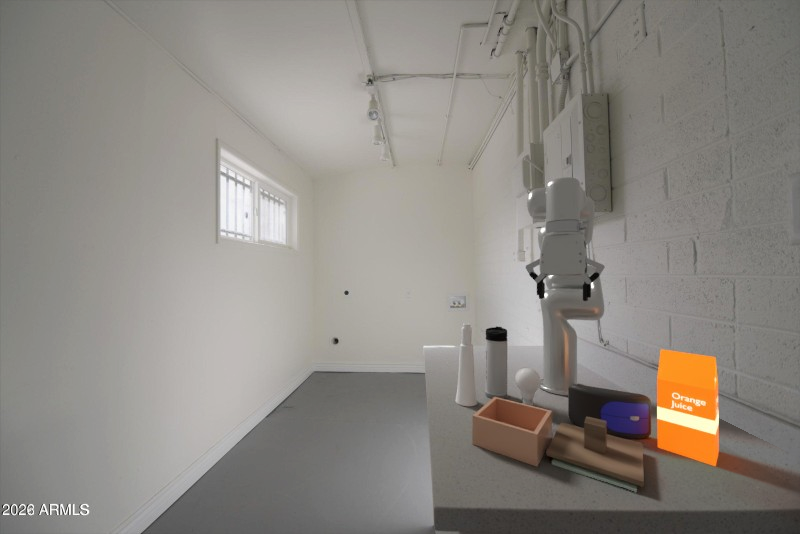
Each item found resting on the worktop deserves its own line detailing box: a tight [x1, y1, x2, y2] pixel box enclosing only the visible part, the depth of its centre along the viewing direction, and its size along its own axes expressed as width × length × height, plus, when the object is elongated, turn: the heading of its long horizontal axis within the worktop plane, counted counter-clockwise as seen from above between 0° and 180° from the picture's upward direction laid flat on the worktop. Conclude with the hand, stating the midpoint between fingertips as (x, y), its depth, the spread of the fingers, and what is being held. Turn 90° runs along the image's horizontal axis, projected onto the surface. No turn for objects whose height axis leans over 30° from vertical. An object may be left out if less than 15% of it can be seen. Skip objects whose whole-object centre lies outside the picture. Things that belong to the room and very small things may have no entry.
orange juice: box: [656, 348, 720, 467], centre depth 66 cm, size 8×9×20 cm
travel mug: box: [484, 326, 508, 399], centre depth 94 cm, size 6×7×20 cm
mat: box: [551, 457, 638, 493], centre depth 63 cm, size 16×13×1 cm
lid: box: [545, 416, 645, 488], centre depth 63 cm, size 15×15×6 cm
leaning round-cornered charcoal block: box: [567, 383, 652, 440], centre depth 73 cm, size 16×5×9 cm, turn 61°
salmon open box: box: [471, 397, 553, 467], centre depth 69 cm, size 13×13×6 cm
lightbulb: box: [514, 366, 542, 406], centre depth 85 cm, size 6×6×11 cm
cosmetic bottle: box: [455, 322, 478, 407], centre depth 89 cm, size 6×6×22 cm
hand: (562, 299), depth 78 cm, fingers open, 9 cm apart
